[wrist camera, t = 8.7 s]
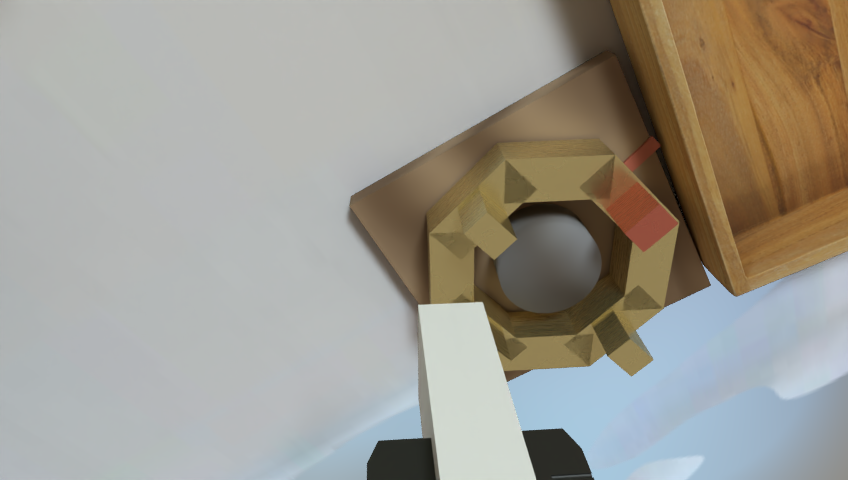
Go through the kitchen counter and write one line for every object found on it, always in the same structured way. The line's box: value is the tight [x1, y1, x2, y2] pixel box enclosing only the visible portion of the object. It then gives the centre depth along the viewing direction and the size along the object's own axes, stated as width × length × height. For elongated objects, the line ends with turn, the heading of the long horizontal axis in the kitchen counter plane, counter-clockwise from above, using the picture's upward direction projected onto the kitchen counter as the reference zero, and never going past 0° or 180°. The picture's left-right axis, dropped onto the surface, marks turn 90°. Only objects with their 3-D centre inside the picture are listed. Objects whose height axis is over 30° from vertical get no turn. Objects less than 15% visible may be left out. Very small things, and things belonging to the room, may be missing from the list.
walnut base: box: [350, 50, 711, 382], centre depth 36 cm, size 17×17×4 cm
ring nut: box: [426, 139, 680, 376], centre depth 34 cm, size 14×14×6 cm
